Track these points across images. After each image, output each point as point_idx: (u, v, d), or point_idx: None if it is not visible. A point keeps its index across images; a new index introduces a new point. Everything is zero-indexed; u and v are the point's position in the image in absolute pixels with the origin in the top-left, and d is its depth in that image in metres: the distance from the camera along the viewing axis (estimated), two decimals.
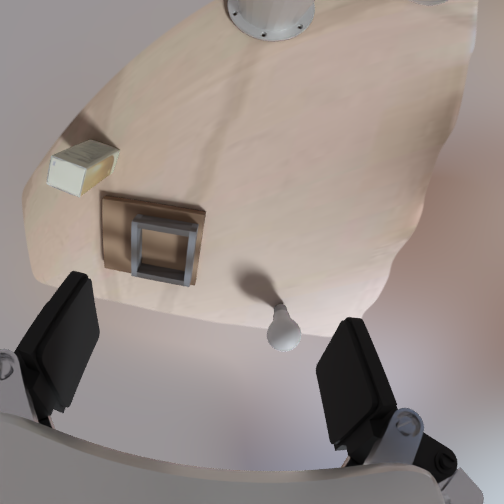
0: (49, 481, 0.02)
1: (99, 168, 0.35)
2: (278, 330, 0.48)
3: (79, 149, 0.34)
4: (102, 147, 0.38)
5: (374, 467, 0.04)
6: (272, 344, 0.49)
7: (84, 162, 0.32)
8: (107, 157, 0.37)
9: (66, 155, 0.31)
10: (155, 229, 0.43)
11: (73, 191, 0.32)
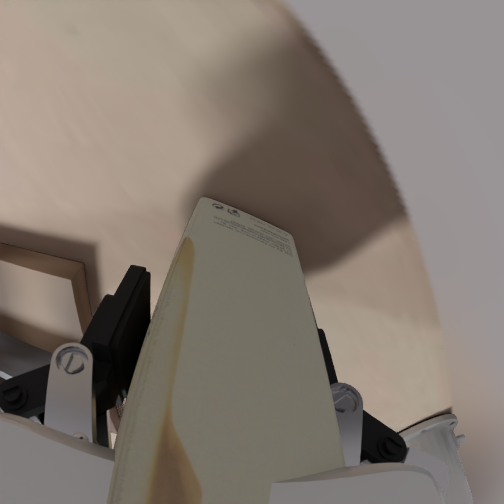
0: (49, 481, 0.02)
1: None
2: None
3: None
4: None
5: (374, 467, 0.04)
6: None
7: None
8: None
9: None
10: None
11: None
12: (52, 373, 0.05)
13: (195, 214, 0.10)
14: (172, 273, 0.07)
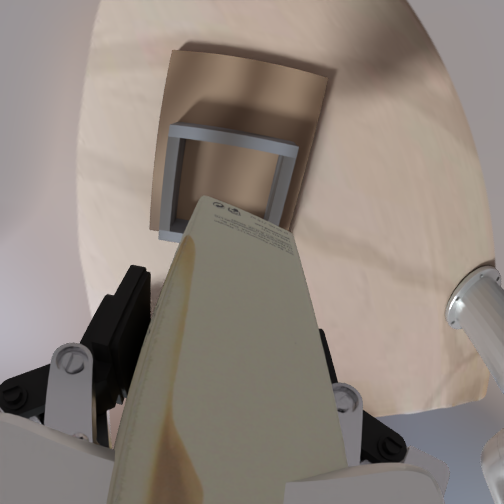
0: (49, 481, 0.02)
1: None
2: None
3: None
4: None
5: (374, 467, 0.04)
6: None
7: None
8: None
9: None
10: (279, 191, 0.24)
11: None
12: (52, 373, 0.05)
13: (195, 213, 0.10)
14: (173, 271, 0.07)
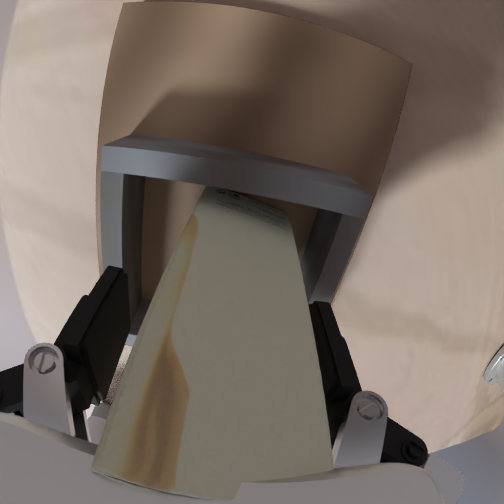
0: (49, 481, 0.02)
1: None
2: None
3: None
4: None
5: (374, 467, 0.04)
6: None
7: None
8: None
9: None
10: (325, 279, 0.12)
11: None
12: (24, 372, 0.05)
13: (200, 198, 0.11)
14: (179, 240, 0.09)
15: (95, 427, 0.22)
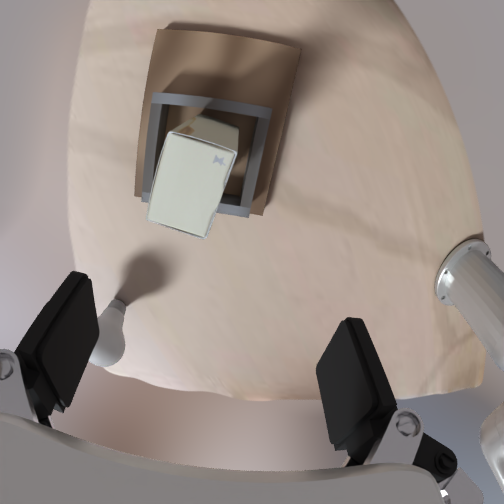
0: (49, 481, 0.02)
1: None
2: (112, 344, 0.30)
3: None
4: None
5: (374, 467, 0.04)
6: None
7: None
8: None
9: None
10: (255, 151, 0.24)
11: (157, 206, 0.17)
12: None
13: None
14: (189, 119, 0.21)
15: (109, 313, 0.34)
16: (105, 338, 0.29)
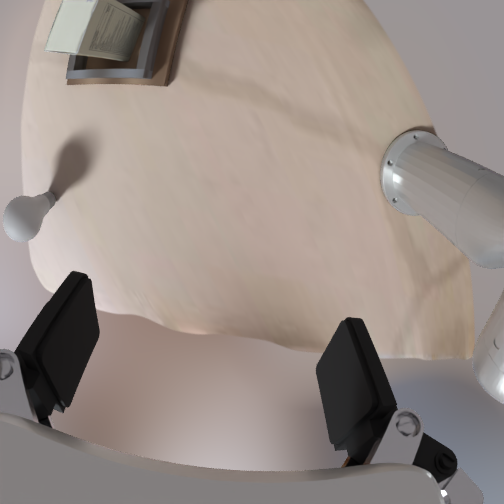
0: (49, 481, 0.02)
1: None
2: (26, 212, 0.27)
3: (120, 19, 0.19)
4: (129, 41, 0.23)
5: (375, 467, 0.04)
6: (8, 209, 0.26)
7: (90, 42, 0.17)
8: (109, 58, 0.22)
9: (103, 11, 0.15)
10: (148, 24, 0.22)
11: (51, 39, 0.15)
12: None
13: None
14: None
15: (36, 196, 0.31)
16: (21, 206, 0.27)
